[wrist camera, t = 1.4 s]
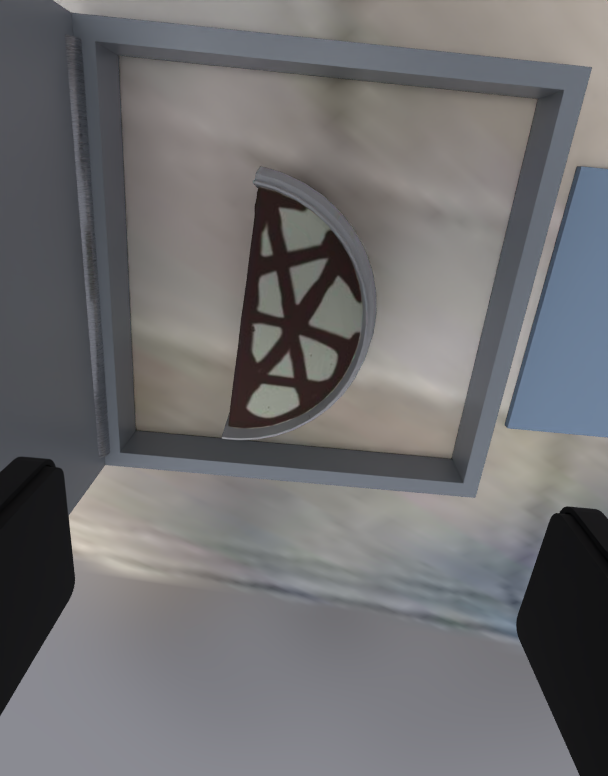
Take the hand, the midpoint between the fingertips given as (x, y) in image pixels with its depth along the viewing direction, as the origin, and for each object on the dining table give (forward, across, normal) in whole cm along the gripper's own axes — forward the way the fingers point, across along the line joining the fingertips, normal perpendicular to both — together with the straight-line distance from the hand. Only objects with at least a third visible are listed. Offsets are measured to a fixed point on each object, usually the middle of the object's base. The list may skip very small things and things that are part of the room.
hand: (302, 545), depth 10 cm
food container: (+23, 0, -1) cm, 23 cm away
